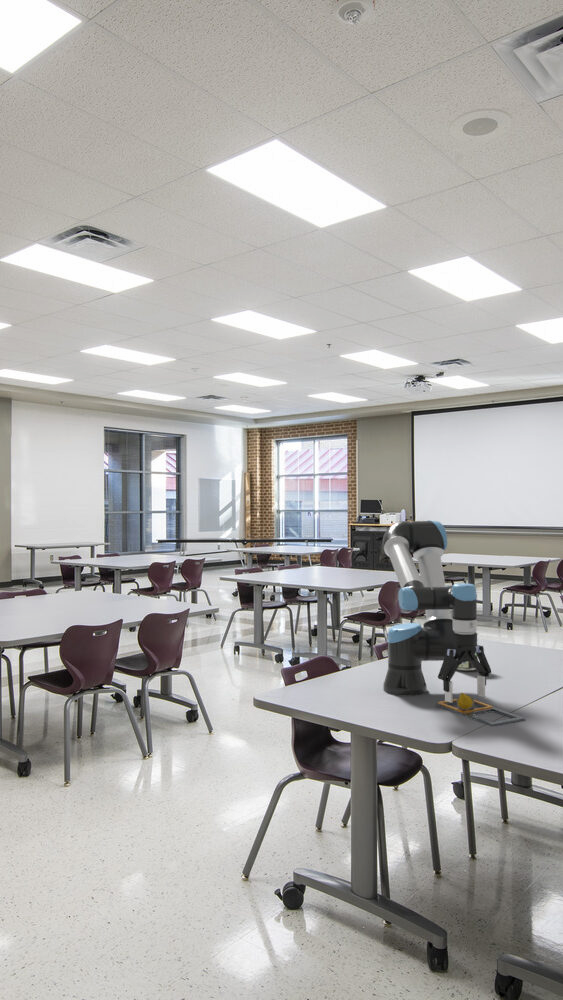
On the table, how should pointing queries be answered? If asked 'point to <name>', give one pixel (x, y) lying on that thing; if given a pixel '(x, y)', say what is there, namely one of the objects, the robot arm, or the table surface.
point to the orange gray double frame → (480, 710)
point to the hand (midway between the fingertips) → (465, 698)
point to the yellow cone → (465, 702)
